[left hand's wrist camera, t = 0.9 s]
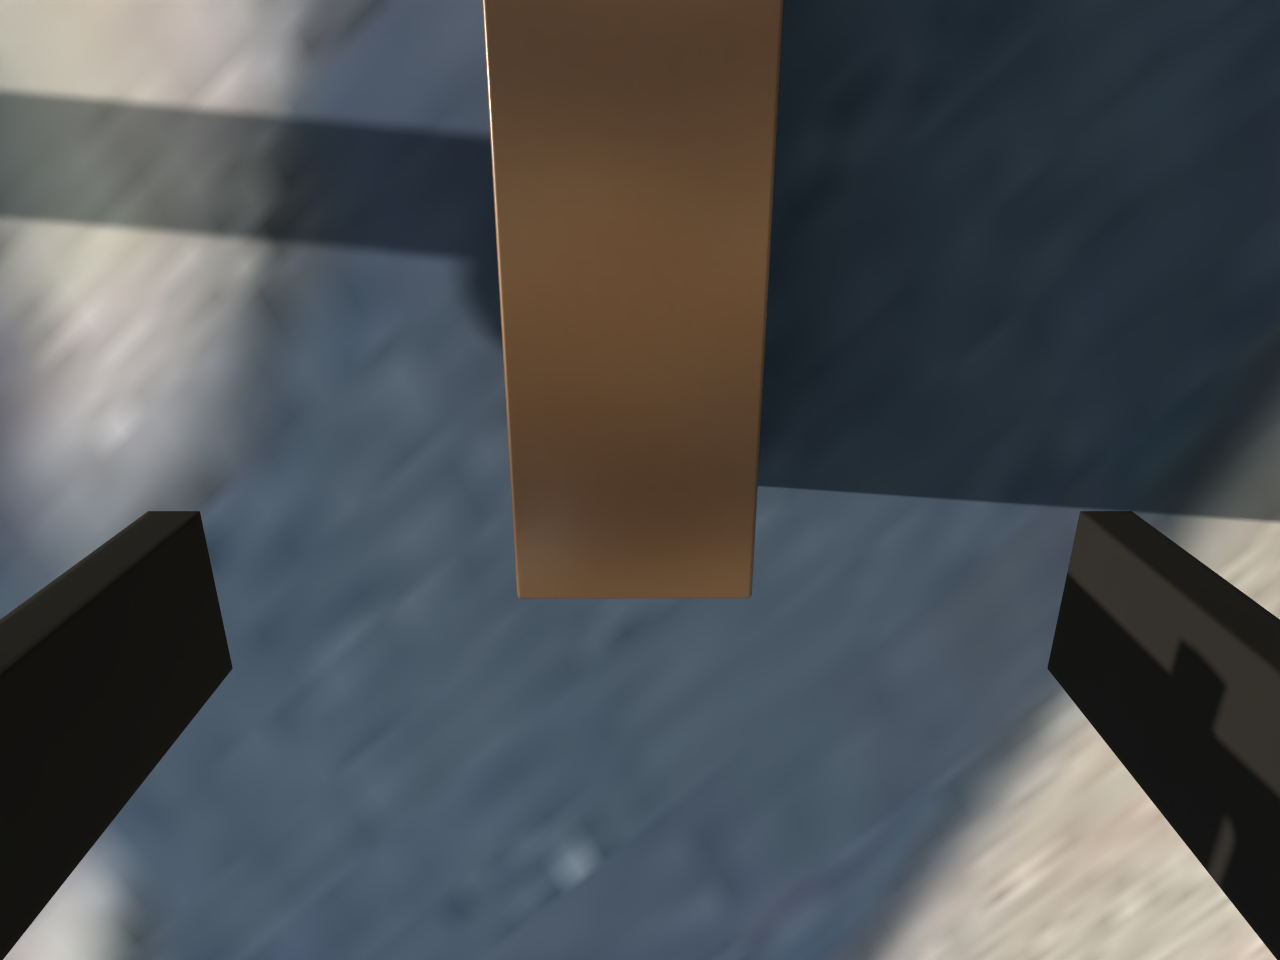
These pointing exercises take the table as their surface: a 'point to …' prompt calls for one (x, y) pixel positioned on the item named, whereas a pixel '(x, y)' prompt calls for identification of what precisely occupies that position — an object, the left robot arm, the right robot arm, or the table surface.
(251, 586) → the table surface
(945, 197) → the table surface
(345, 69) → the table surface
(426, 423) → the table surface
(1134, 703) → the left robot arm
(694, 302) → the bar
